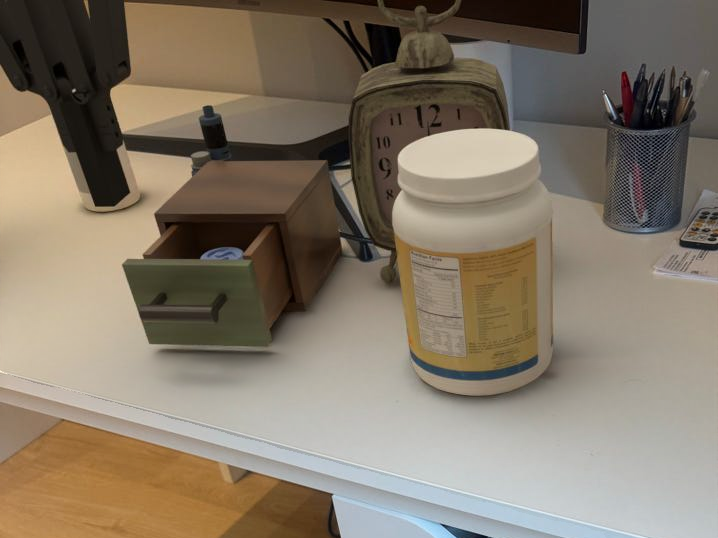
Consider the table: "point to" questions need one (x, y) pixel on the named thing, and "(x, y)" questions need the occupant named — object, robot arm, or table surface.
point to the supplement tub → (475, 260)
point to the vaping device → (211, 140)
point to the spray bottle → (83, 186)
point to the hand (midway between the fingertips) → (112, 199)
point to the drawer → (211, 284)
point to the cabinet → (269, 212)
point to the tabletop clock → (414, 115)
